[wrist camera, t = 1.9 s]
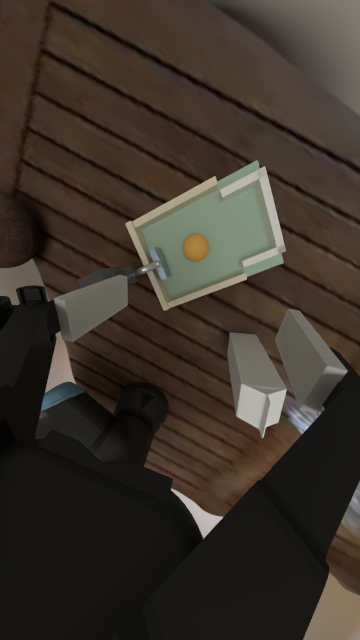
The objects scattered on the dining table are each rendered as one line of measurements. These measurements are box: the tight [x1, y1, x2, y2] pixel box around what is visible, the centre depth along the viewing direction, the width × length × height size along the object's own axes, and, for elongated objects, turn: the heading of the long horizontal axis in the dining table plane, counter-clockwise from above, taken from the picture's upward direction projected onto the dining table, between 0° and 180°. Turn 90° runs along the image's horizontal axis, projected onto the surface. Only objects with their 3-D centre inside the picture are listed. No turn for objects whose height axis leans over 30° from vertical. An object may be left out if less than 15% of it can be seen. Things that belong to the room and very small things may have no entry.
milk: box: [227, 332, 287, 438], centre depth 33 cm, size 6×6×22 cm
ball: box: [182, 233, 209, 262], centre depth 35 cm, size 5×5×5 cm
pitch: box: [126, 160, 286, 311], centre depth 35 cm, size 25×18×5 cm
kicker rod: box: [76, 247, 172, 288], centre depth 32 cm, size 9×6×16 cm, turn 113°
